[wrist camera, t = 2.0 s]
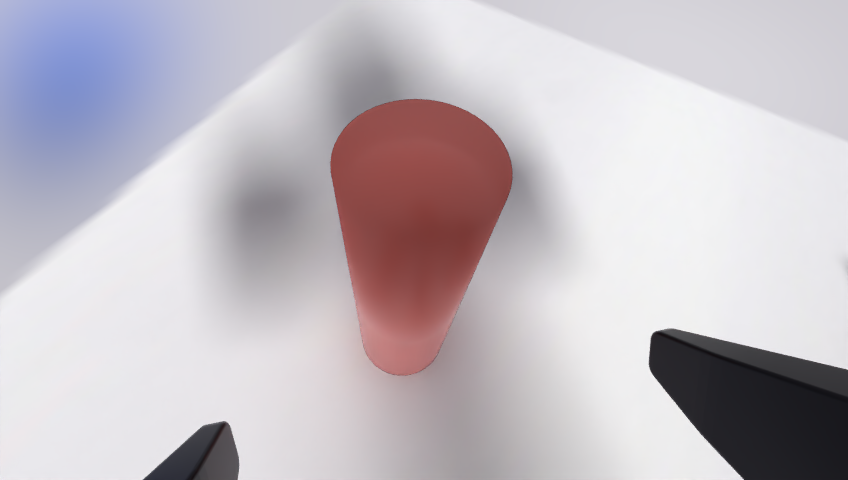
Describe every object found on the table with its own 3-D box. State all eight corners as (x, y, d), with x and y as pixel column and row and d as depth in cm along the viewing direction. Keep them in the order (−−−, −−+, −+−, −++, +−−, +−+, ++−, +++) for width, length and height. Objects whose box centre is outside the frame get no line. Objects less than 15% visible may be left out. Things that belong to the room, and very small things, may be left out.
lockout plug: (450, 366, 19) (538, 225, 8) (368, 383, 19) (341, 254, 7) (432, 291, 21) (483, 92, 10) (357, 303, 21) (322, 106, 9)
